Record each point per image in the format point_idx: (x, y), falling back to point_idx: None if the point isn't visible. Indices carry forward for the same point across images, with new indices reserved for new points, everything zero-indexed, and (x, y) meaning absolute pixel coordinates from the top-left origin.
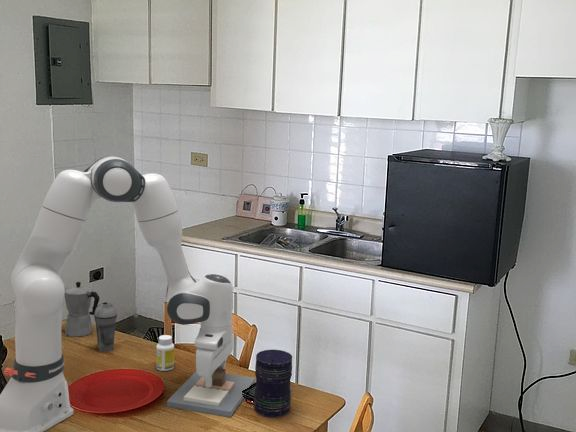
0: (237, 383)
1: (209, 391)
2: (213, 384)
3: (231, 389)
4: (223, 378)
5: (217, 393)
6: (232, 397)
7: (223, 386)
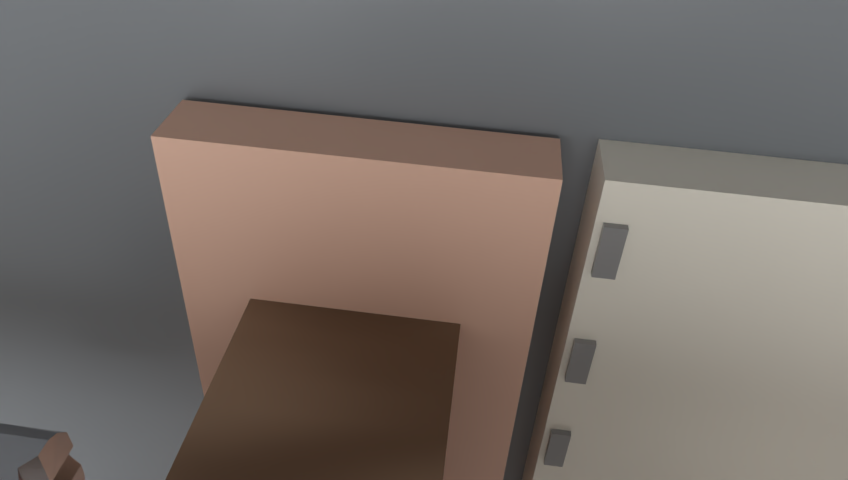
0: (59, 64)
1: (686, 450)
2: (448, 449)
3: (388, 122)
4: (335, 417)
5: (770, 340)
6: (769, 15)
7: (441, 298)
